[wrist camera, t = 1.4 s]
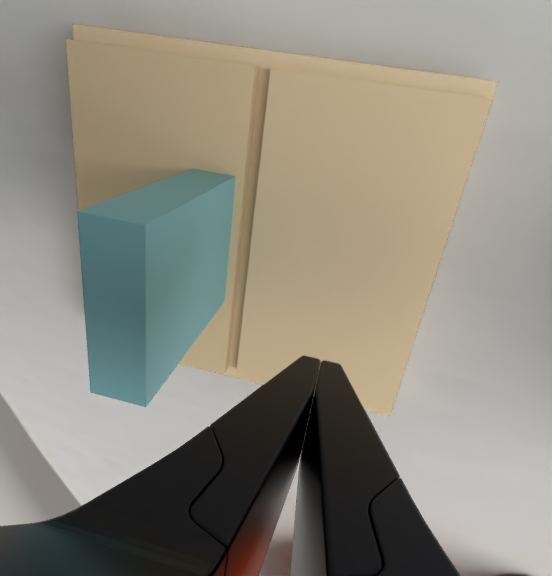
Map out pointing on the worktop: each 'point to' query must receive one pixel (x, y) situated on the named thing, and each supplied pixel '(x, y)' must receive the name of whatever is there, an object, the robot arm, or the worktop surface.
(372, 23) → the worktop surface
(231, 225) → the flap
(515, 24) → the worktop surface
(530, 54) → the worktop surface
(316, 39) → the worktop surface
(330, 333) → the carton
